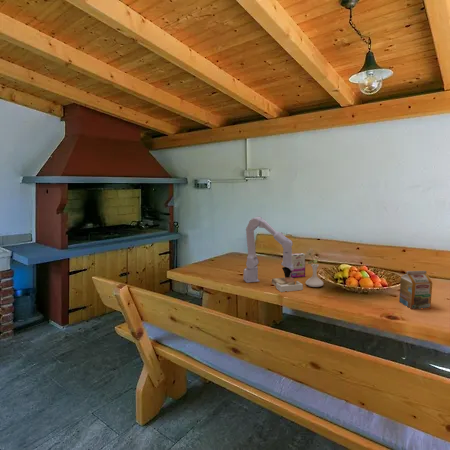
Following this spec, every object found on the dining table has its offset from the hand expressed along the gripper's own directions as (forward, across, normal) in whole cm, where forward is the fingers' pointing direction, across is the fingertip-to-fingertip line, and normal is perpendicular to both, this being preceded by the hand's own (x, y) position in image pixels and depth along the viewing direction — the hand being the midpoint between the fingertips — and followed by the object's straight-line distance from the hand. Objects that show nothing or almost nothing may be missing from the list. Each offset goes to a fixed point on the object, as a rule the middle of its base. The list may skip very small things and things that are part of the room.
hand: (287, 278), depth 212 cm
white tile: (+1, -10, +6) cm, 12 cm away
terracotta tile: (+1, -3, 0) cm, 3 cm away
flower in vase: (+4, -8, -15) cm, 17 cm away
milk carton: (+4, -53, -50) cm, 73 cm away
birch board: (+4, 0, +3) cm, 5 cm away
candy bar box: (+4, +14, -14) cm, 20 cm away
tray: (+4, -9, +3) cm, 10 cm away
